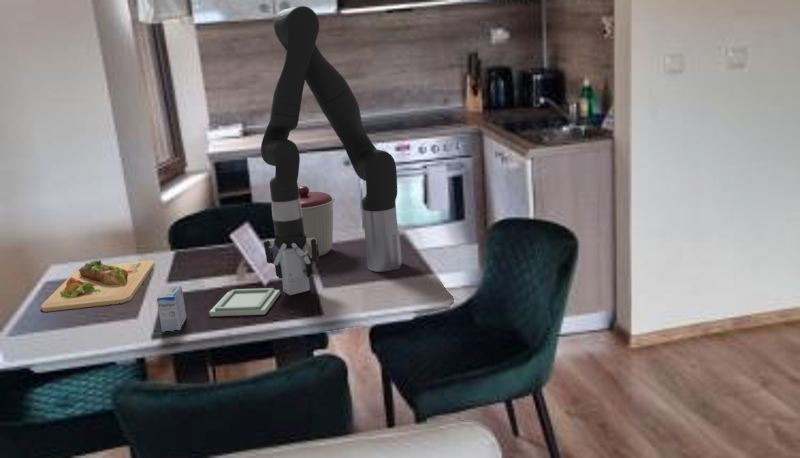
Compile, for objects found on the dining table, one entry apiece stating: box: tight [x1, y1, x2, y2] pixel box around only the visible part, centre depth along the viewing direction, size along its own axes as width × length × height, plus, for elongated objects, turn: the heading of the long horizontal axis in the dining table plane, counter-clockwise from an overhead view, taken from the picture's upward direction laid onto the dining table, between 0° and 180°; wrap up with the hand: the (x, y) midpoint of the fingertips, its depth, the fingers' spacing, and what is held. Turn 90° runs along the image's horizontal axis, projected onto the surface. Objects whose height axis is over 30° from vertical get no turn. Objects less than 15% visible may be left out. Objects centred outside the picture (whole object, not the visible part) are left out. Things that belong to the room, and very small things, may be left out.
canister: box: [298, 185, 336, 257], centre depth 229 cm, size 18×18×21 cm
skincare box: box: [280, 246, 311, 296], centre depth 198 cm, size 6×4×12 cm
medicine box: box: [156, 285, 187, 333], centre depth 182 cm, size 8×4×9 cm, turn 5°
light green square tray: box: [208, 287, 281, 317], centre depth 192 cm, size 14×14×2 cm
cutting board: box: [40, 259, 155, 313], centre depth 217 cm, size 35×23×8 cm
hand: (295, 276), depth 199 cm, fingers closed on skincare box, 7 cm apart
